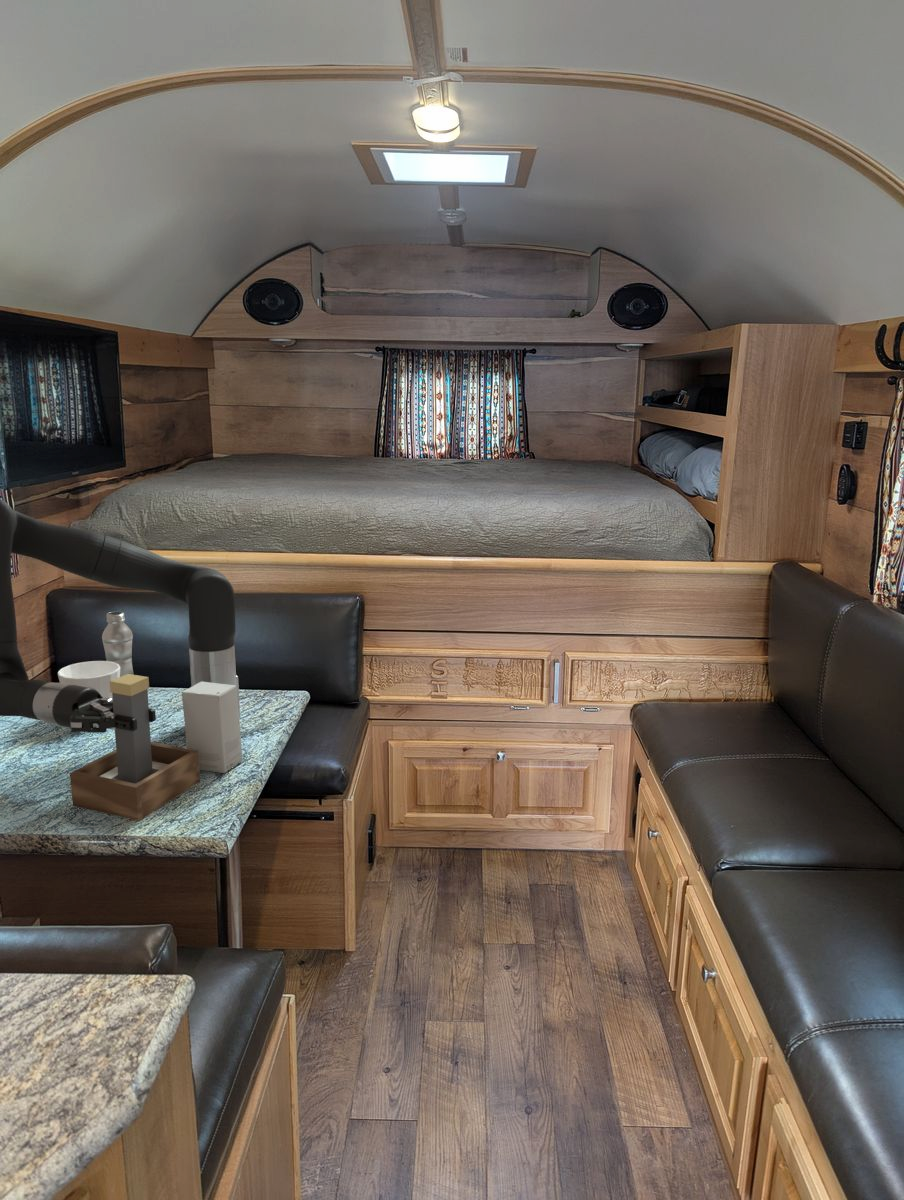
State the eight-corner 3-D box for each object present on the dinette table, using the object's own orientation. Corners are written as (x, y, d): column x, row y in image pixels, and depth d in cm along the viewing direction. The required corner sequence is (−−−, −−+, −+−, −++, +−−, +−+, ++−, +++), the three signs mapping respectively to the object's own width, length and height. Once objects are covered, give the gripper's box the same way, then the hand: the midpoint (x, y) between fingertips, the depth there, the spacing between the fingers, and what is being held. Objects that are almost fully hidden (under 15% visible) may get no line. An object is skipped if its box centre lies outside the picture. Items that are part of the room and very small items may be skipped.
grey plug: (134, 769, 150) (128, 673, 145) (154, 774, 148) (148, 677, 144) (116, 779, 146) (109, 681, 141) (136, 784, 144) (130, 684, 140)
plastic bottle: (105, 693, 197) (98, 611, 192) (136, 690, 200) (130, 609, 195) (106, 702, 191) (99, 618, 187) (138, 699, 194) (131, 615, 189)
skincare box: (243, 761, 161) (239, 684, 158) (223, 775, 155) (219, 696, 152) (206, 755, 164) (202, 679, 160) (185, 768, 158) (180, 690, 154)
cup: (53, 716, 182) (49, 668, 180) (111, 703, 191) (107, 657, 188) (73, 733, 174) (69, 682, 171) (133, 719, 182) (129, 670, 179)
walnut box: (138, 769, 157) (136, 739, 156) (200, 781, 152) (198, 751, 151) (72, 805, 143) (69, 773, 141) (138, 821, 138) (136, 787, 136)
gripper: (33, 697, 142) (113, 713, 136) (95, 674, 155) (171, 687, 149) (37, 739, 144) (116, 756, 138) (98, 712, 157) (173, 726, 151)
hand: (144, 720), depth 143 cm, fingers closed on grey plug, 4 cm apart
